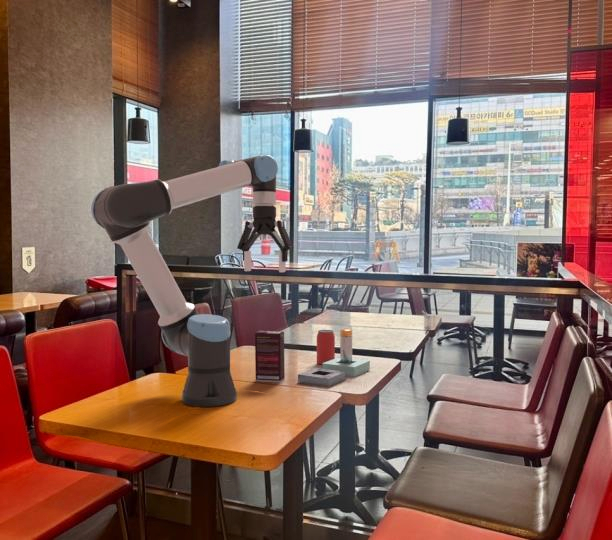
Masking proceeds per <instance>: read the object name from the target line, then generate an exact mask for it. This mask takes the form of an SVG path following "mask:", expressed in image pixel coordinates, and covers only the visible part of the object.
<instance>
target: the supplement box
mask: <svg viewBox="0 0 612 540" xmlns="http://www.w3.org/2000/svg"><path fill="white" fill-rule="evenodd" d="M254 349H255V351H254V360H255V361H254V362H255V365H254V366H255V382H262V383H263V382H264V383H265V382H267V383H268V382H269V383H280V384H281V383H283V381H285V378H286V377H285V331H275V330H272V331H271V330H258V331H256V332H254Z"/></svg>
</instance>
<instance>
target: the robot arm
mask: <svg viewBox="0 0 612 540" xmlns="http://www.w3.org/2000/svg"><path fill="white" fill-rule="evenodd" d="M278 169H279V168H278V164H277V161H276V160H275V158H274V157H273V156H272V155H268V154H260V155H257V156H253V157H249V158H243V159H239V160H232V159H228V160H226V159H223V160H221V161H220V162H219V164H218V166H217V167H214V168H213V167H212V168H209V169H208V168H207V169H206V170H205V169H204V170H201V171H198V172H195V173H191V174H186V175H183V176H179V177H176V178H172V179H169V180H165V181H162V180H161V179H159V178H157V179H154V180H149V181H144V182H135V183H134V182H132V183H122V184H119V185H113V186H111V185H110V186H108V187H105V188H104V189H102V190H101V191H99V192H98V193H97V194H96V195H95V196H94V198H93V201H92V203H91V215H92V218H93V220H94V222H95V223H96V224H97V225H99V227H101V228H103V229H104V230H105V231H106V234H107V235H108V237H109V239H110V240H111V243H114V244H118V245H119V246H120V248H121V249H122V251H123V252H124V255H126V258H127V259H128V261H129V264H130V265H131V267H132V268H133V271H134V272H135V273H136V274H135V275H136V276H137V277H138V280H139V282H140V283H141V285H142V286H143V288H144V290H145V292H146V293H147V295H148V297H149V299H150V301H151V302H152V304H153V306H154V308H155V309H156V312H157V313H158V315H159V318H158V321H157V325H158V326H159V328H160V330H161V333H160V334H161V339H162V341H163V344H164V345H165V347H166V348H168V349H169V350H170V351H172V352H173V353H175V354H178V355H182V356H184V357H187V367H188V368H187V369H188V371H187V376H186V380H185V383H184V386H183V390H182V392H181V402H182V403H183V404H185V405H187V406H191V407H202V408H203V407H204V408H210V407H211V408H212V407H220V406H224V405H225V406H226V405H229V404H232V403H234V402H236V401H237V389H236V386H235V384H234V380H233V377H232V373H231V332H232V331H231V324H230V321H229V320H228V319H227V318H226V317H223V316H221V315H219V314H216V315H215V314H209V313H208V314H207V313H202V314H201V313H200V314H199V311H198V310H197V308H196V306H195V304H194V303H191V302H187V300H186V298H185V296H184V295H183V293H182V291H181V289H180V287H179V285H178V283H177V282H176V280H175V278H174V276H173V274H172V273H171V272H172V271H170V269H169V267H168V265H167V262H166V260H165V259H164V258H163V255H162V253H161V252H160V249H158V246H157V244H156V243H155V241H154V239H153V237H152V235H151V233H150V232H149V231H150V230H149V229H150V227H151V222H153V221H154V220H156V219H159V218H161V217H165V216H168V215H171V213H172V211H173V210H174V209H178V208H181V207H185V206H187V205H190V204H194V203H197V202H200V201H203V200H206V199H210V198H213V197H216V196H220V195H224V194H226V193H229V192H233V191H236V190H239V189H242V188H246V187H252V205H254V206H253V207H252V217H253V221H252V220H246V221H245V222H244V228H243V232H242V234H241V237H240V239H239V241H238V244H237V249H238V250H241V252H242V261H243V262H244V265H243V267H244V270H243V271H244V272H251V271H252V251H251V250H250V249H251V248H252V246H253V244H255V242H256V240H257V239H258V238H259V237H260V236H261V235H262V236H263V235H265V236H267V235H269V236H270V237H271V238H272V240H273V241H274V242H275V244H276V246H277V247H278V248H279V250H280V251H278V273H285V272H286V270H287V269H286V266H287V265H286V262H288V259H289V258H288V252H289V251H291V250H293V249H294V246H293V243H292V242H291V238H290V237H289V236H290V235H289V234H288V232H287V229H286V226H285V221H284V220H281V219H278V220H277V221H276V217H277V207H276V205H277V174H278ZM253 228H254V229H253ZM276 228H277V229H278V231H277V229H276ZM278 232H279V234H278Z"/></svg>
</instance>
